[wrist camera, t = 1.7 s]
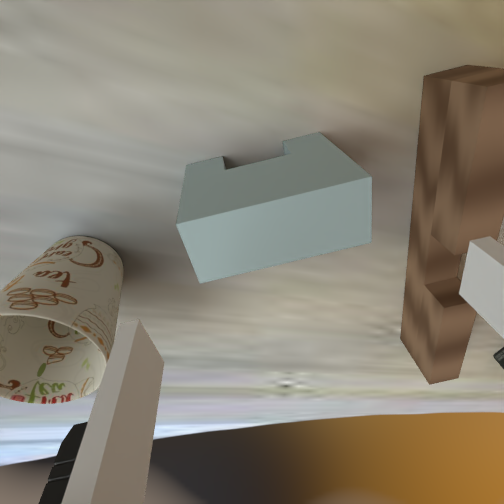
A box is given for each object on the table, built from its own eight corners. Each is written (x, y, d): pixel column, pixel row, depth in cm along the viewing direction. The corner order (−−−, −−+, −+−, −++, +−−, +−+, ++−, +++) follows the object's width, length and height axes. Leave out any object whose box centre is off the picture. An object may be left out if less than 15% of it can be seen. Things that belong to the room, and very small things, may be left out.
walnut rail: (423, 75, 22) (487, 86, 17) (467, 65, 22) (543, 72, 17) (400, 338, 38) (429, 384, 33) (425, 333, 37) (458, 378, 33)
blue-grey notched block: (186, 165, 23) (175, 224, 16) (319, 132, 23) (371, 176, 16) (202, 212, 26) (199, 283, 18) (323, 182, 25) (371, 242, 18)
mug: (145, 237, 26) (117, 328, 18) (123, 338, 32) (94, 440, 24) (32, 210, 24) (-61, 300, 16) (31, 324, 30) (-36, 432, 22)
